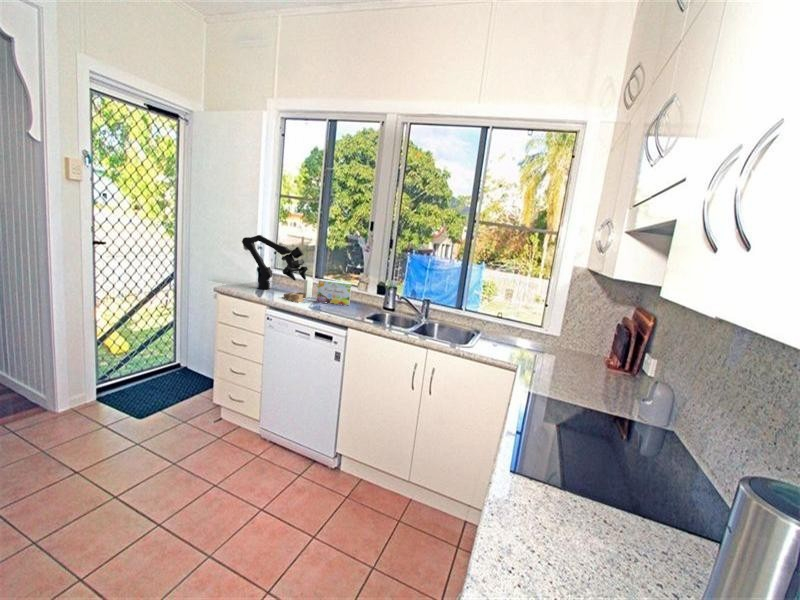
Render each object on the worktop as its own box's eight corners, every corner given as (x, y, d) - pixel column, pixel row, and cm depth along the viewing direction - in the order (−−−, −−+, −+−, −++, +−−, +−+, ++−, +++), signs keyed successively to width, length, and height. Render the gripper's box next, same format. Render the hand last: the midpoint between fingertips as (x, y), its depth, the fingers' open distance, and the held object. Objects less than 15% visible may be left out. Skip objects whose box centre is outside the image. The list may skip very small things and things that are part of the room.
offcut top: (289, 297, 243) (289, 293, 243) (293, 296, 247) (294, 293, 247) (298, 299, 241) (299, 295, 241) (302, 298, 245) (303, 294, 245)
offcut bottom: (289, 301, 245) (289, 297, 244) (295, 300, 249) (295, 296, 248) (297, 303, 240) (297, 299, 240) (303, 302, 245) (303, 299, 244)
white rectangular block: (303, 297, 261) (304, 279, 259) (308, 296, 265) (309, 279, 263) (306, 297, 259) (307, 280, 257) (311, 297, 263) (312, 280, 261)
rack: (283, 298, 249) (283, 293, 248) (299, 296, 260) (300, 292, 260) (289, 300, 245) (290, 295, 245) (306, 298, 257) (306, 294, 257)
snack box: (316, 302, 249) (318, 279, 246) (318, 300, 254) (320, 278, 252) (348, 306, 250) (351, 283, 247) (349, 304, 255) (351, 282, 253)
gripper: (286, 254, 256) (296, 273, 253) (307, 255, 272) (316, 273, 268) (277, 264, 262) (287, 283, 258) (298, 264, 277) (308, 282, 274)
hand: (300, 280), depth 264 cm, fingers open, 9 cm apart
